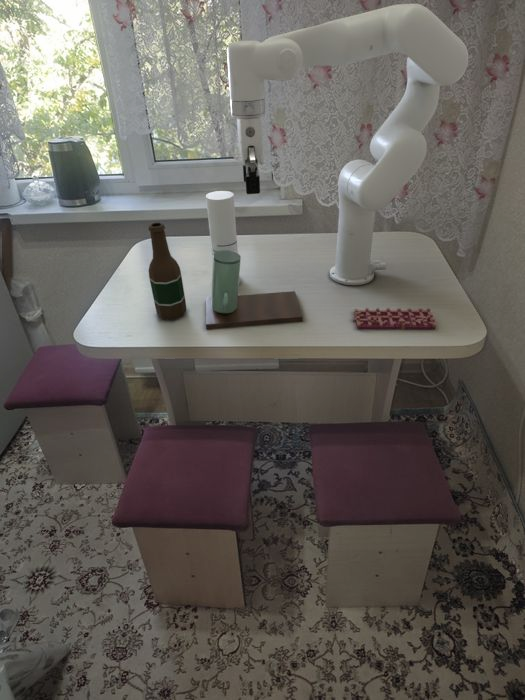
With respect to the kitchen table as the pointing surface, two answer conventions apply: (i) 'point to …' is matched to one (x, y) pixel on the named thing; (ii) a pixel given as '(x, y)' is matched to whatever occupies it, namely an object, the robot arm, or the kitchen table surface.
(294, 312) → the serving board
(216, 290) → the jug
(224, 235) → the cylindrical container
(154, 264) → the beer bottle
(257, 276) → the kitchen table surface
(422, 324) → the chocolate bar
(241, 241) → the kitchen table surface
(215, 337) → the kitchen table surface
